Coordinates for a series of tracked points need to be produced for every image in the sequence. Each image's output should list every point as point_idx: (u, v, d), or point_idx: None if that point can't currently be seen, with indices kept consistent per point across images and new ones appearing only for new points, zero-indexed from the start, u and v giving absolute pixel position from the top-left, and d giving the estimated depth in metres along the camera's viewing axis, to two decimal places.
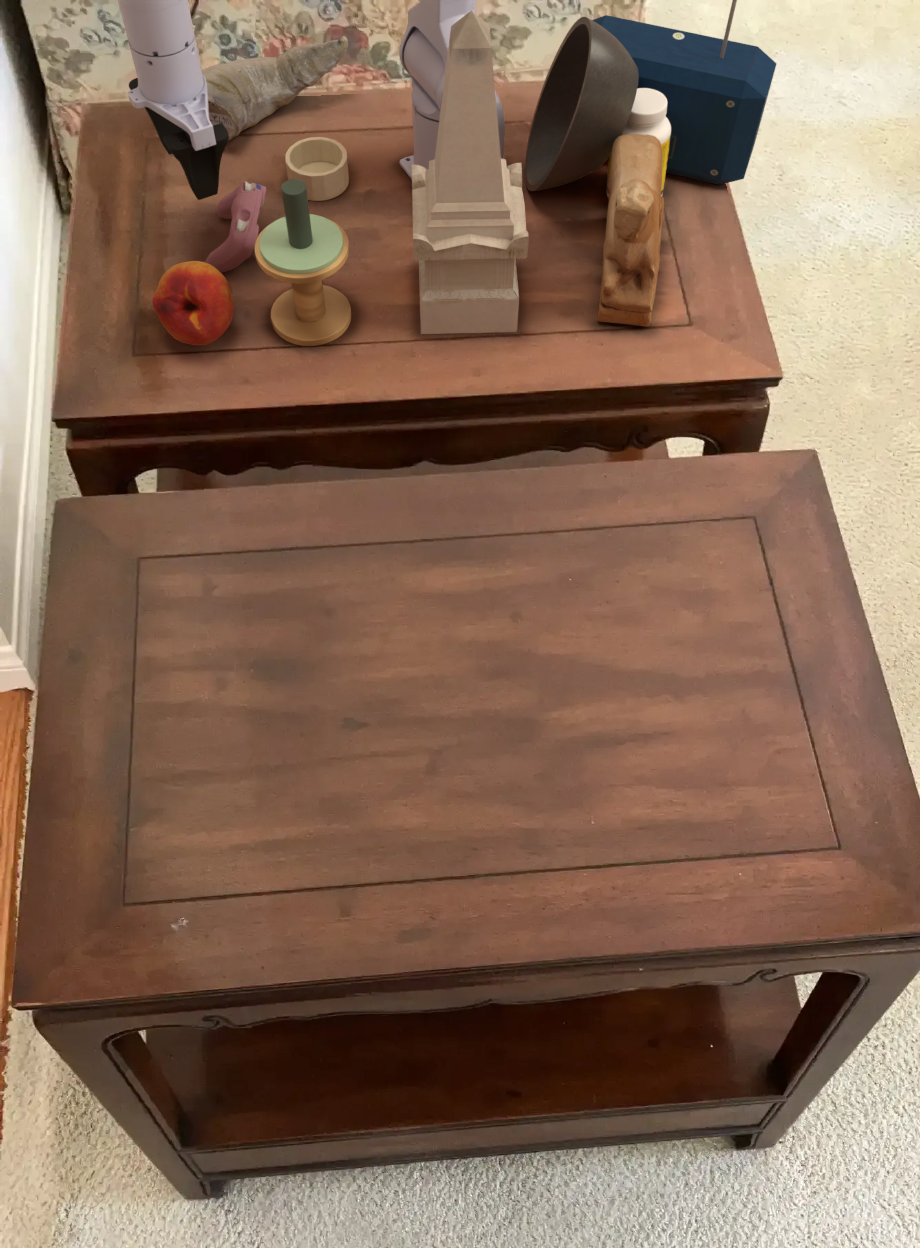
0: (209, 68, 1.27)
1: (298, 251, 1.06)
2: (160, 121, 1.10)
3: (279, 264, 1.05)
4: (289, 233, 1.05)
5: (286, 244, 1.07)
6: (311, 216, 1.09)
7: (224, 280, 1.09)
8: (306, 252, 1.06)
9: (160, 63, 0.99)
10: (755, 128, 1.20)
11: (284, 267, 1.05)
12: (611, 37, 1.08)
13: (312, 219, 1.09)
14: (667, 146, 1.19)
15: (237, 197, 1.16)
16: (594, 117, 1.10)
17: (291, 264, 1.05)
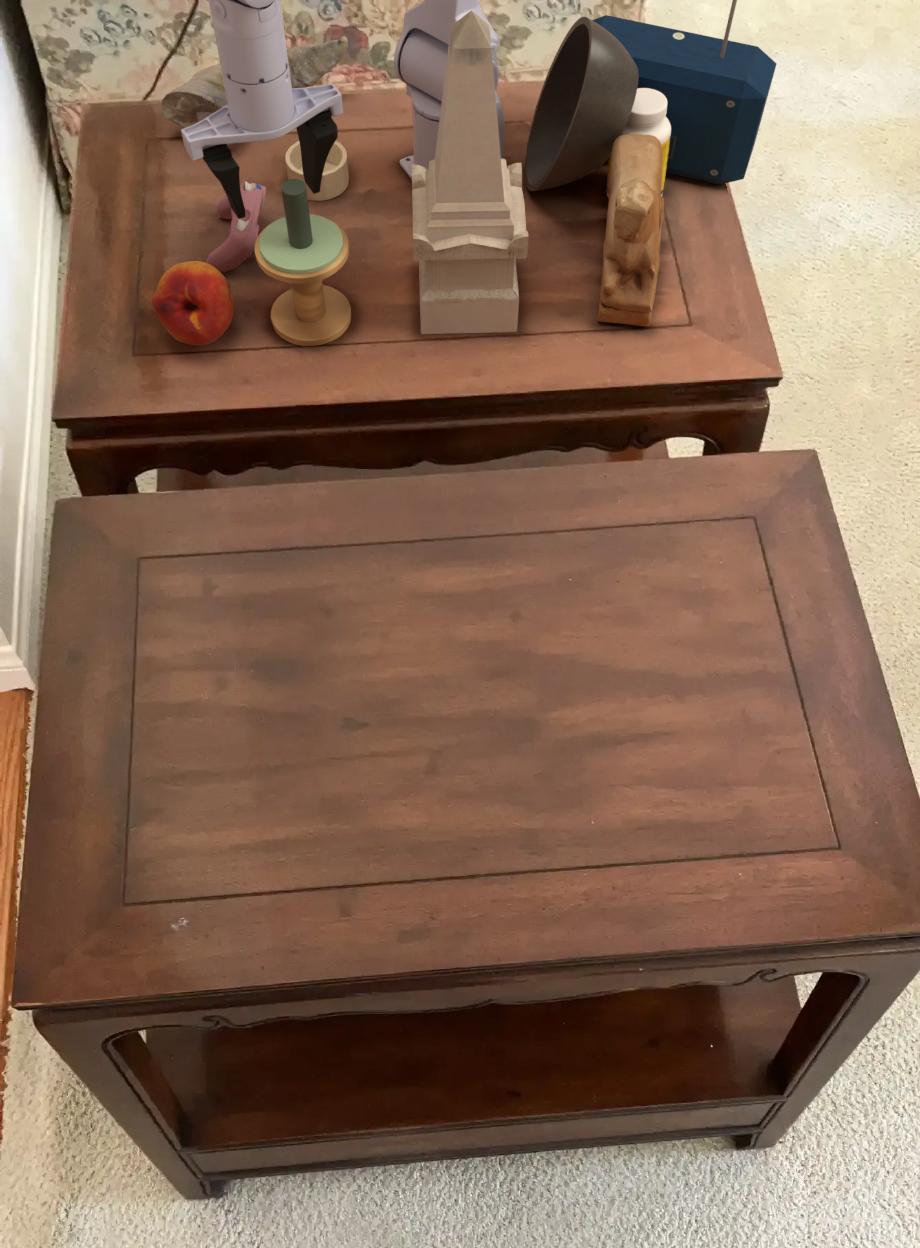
0: (209, 68, 1.27)
1: (298, 251, 1.06)
2: (302, 148, 1.07)
3: (279, 264, 1.05)
4: (289, 233, 1.05)
5: (286, 244, 1.07)
6: (311, 216, 1.09)
7: (224, 280, 1.09)
8: (306, 252, 1.06)
9: None
10: (755, 128, 1.20)
11: (284, 267, 1.05)
12: (611, 37, 1.08)
13: (312, 219, 1.09)
14: (667, 146, 1.19)
15: None
16: (594, 117, 1.10)
17: (291, 264, 1.05)
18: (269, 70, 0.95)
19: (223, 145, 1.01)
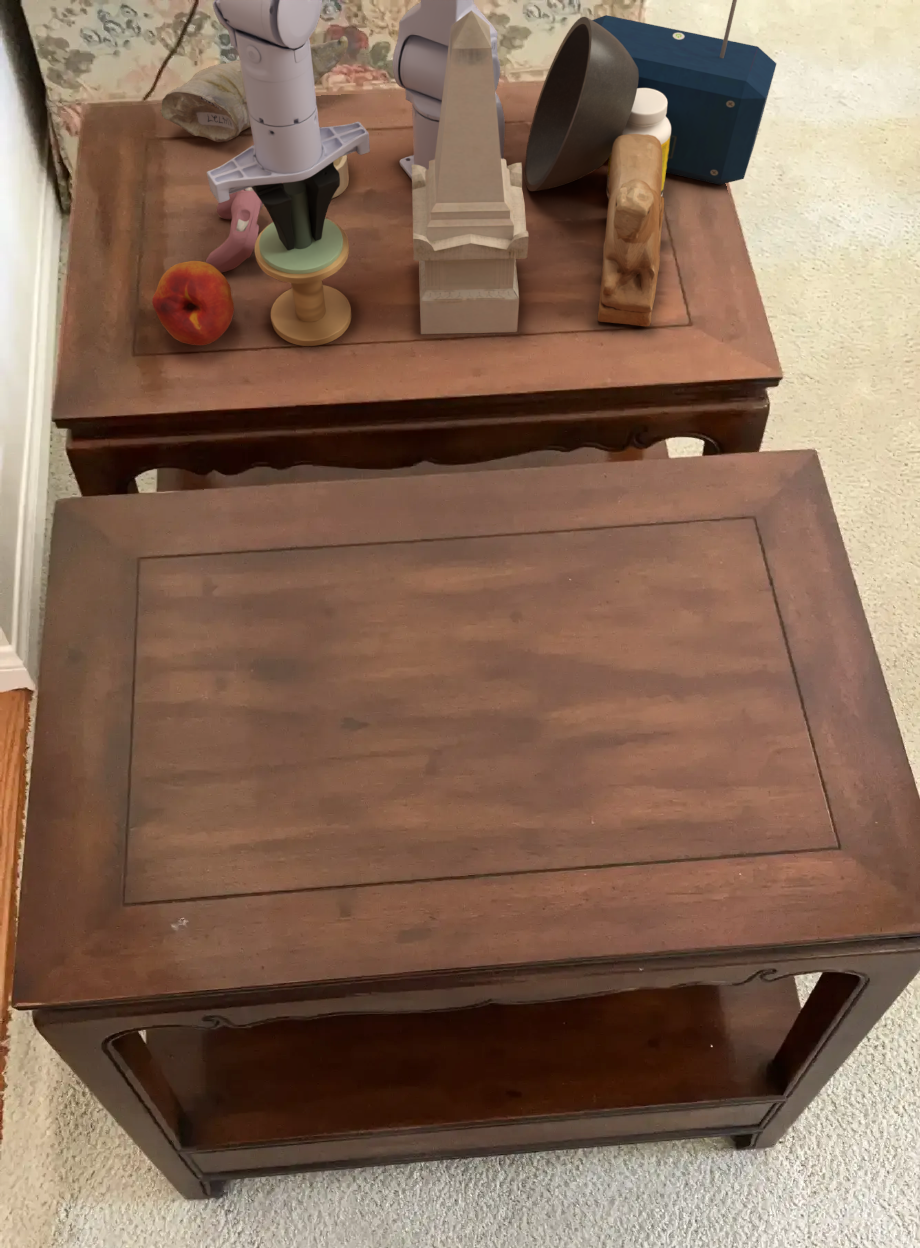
0: (209, 68, 1.27)
1: (298, 251, 1.06)
2: None
3: (279, 264, 1.05)
4: None
5: None
6: None
7: (224, 280, 1.09)
8: (306, 252, 1.06)
9: None
10: (755, 128, 1.20)
11: (284, 267, 1.05)
12: (611, 37, 1.08)
13: None
14: (667, 146, 1.19)
15: (237, 197, 1.16)
16: (594, 117, 1.10)
17: (291, 264, 1.05)
18: (303, 109, 0.93)
19: None
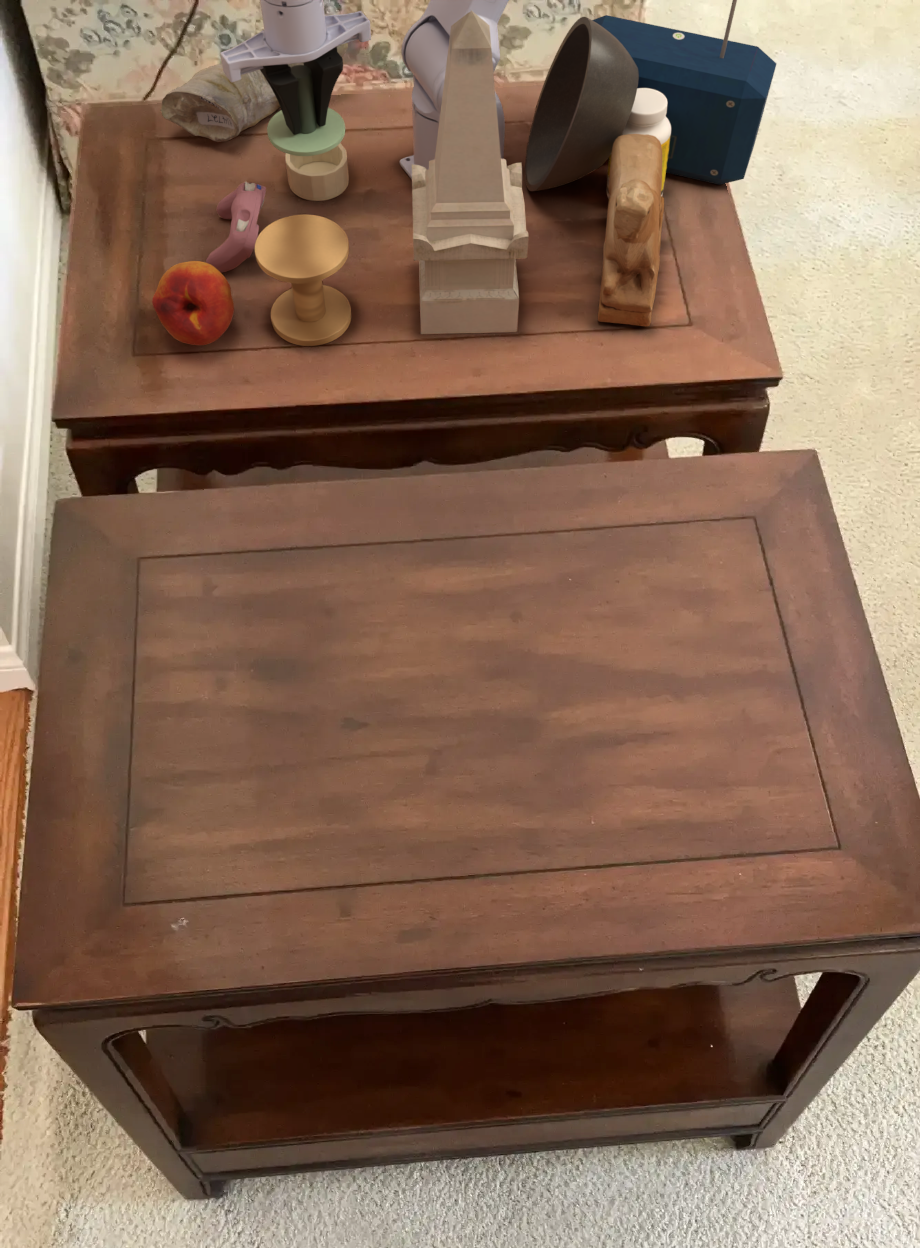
0: (209, 68, 1.27)
1: (303, 136, 1.14)
2: None
3: (285, 147, 1.13)
4: None
5: None
6: None
7: (224, 280, 1.09)
8: (311, 137, 1.14)
9: None
10: (755, 128, 1.20)
11: (290, 149, 1.13)
12: (611, 37, 1.08)
13: None
14: (667, 146, 1.19)
15: (237, 197, 1.16)
16: (594, 117, 1.10)
17: (297, 147, 1.13)
18: None
19: None
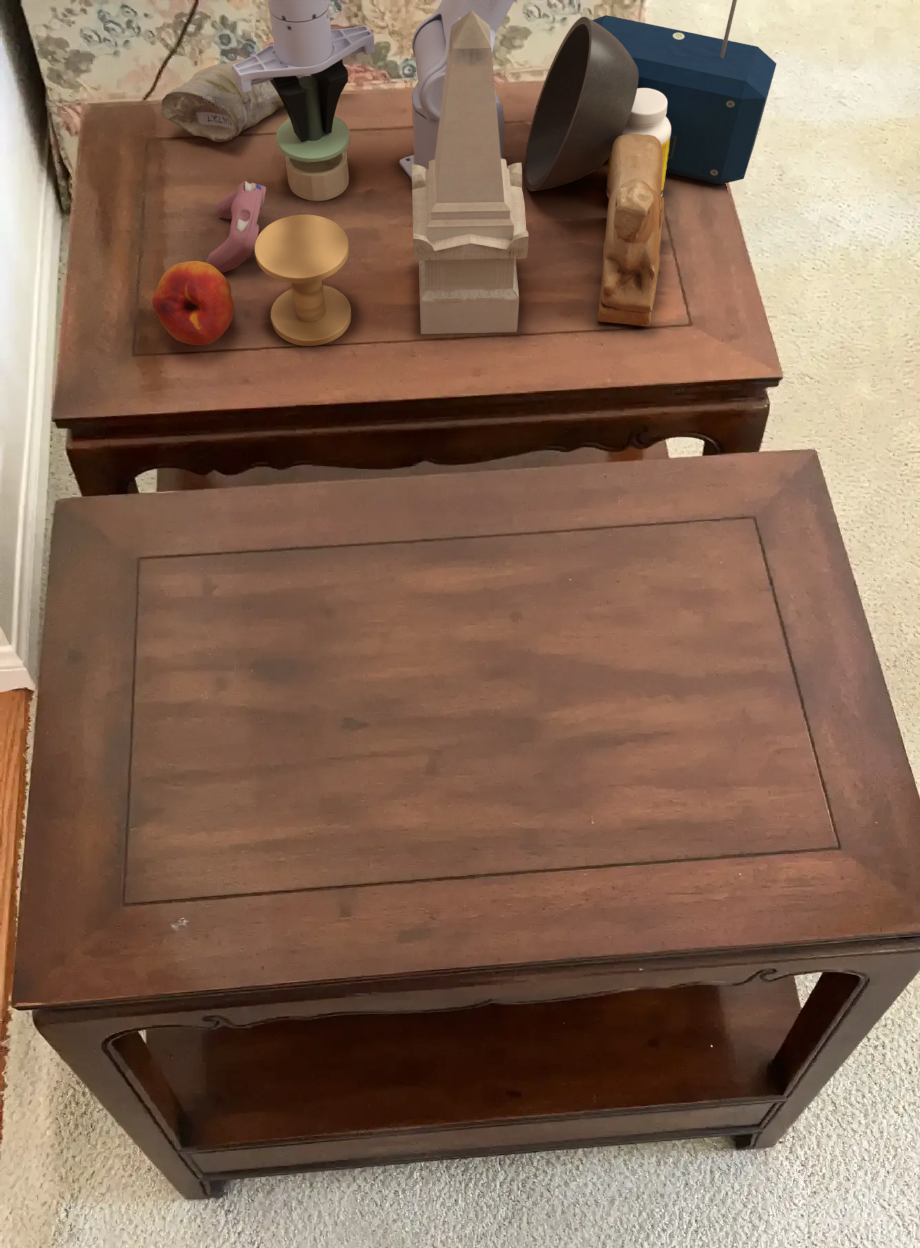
0: (209, 68, 1.27)
1: (310, 143, 1.21)
2: None
3: (293, 153, 1.20)
4: None
5: None
6: None
7: (224, 280, 1.09)
8: (317, 143, 1.20)
9: (269, 12, 1.10)
10: (755, 128, 1.20)
11: (298, 156, 1.19)
12: (611, 37, 1.08)
13: None
14: (667, 146, 1.19)
15: (237, 197, 1.16)
16: (594, 117, 1.10)
17: (304, 153, 1.20)
18: (290, 12, 1.07)
19: None
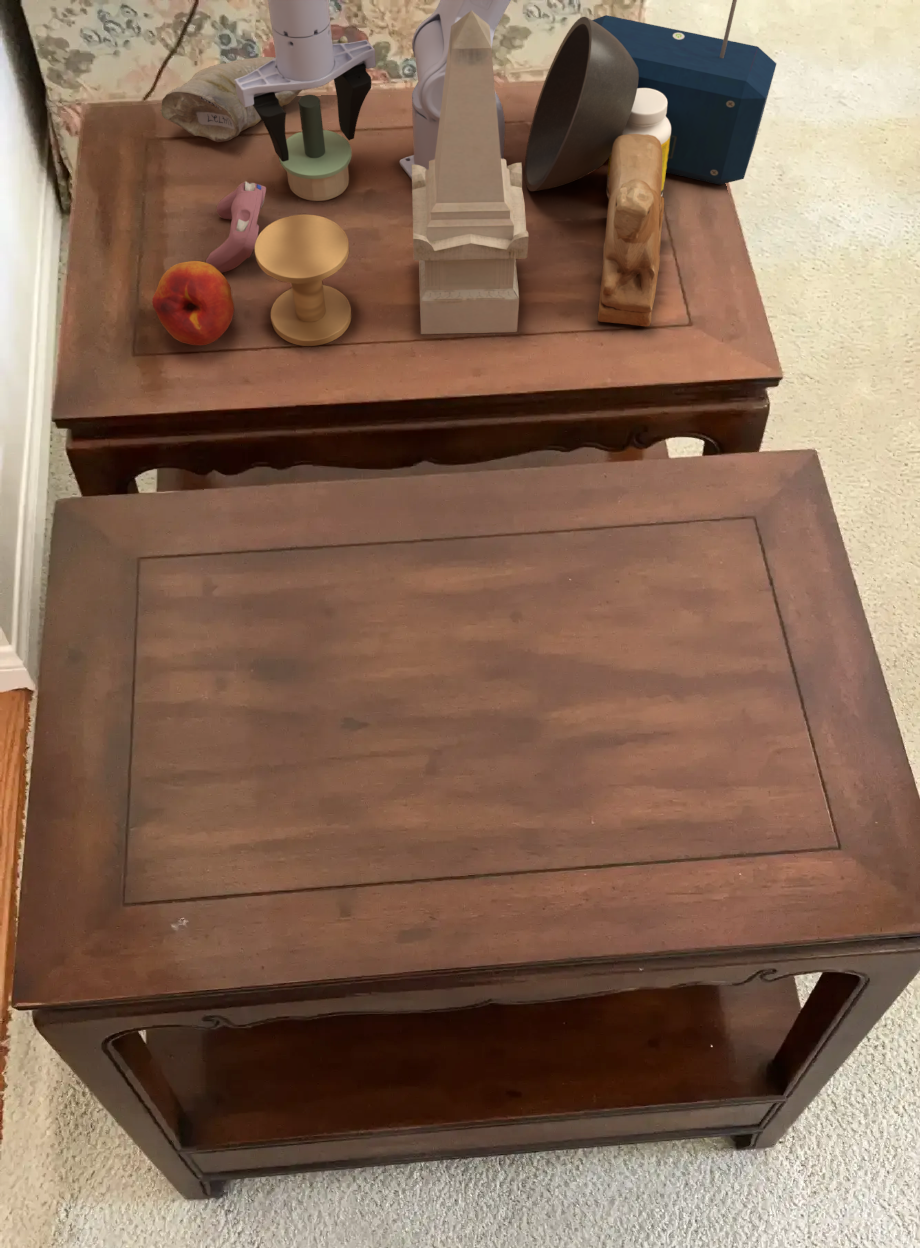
0: (209, 68, 1.27)
1: (312, 160, 1.22)
2: (339, 99, 1.21)
3: (296, 170, 1.21)
4: (305, 143, 1.21)
5: (302, 154, 1.23)
6: (324, 131, 1.25)
7: (224, 280, 1.09)
8: (319, 161, 1.22)
9: None
10: (755, 128, 1.20)
11: (300, 173, 1.21)
12: (611, 37, 1.08)
13: (324, 133, 1.25)
14: (667, 146, 1.19)
15: (237, 197, 1.16)
16: (594, 117, 1.10)
17: (306, 170, 1.21)
18: (292, 28, 1.08)
19: (271, 93, 1.14)
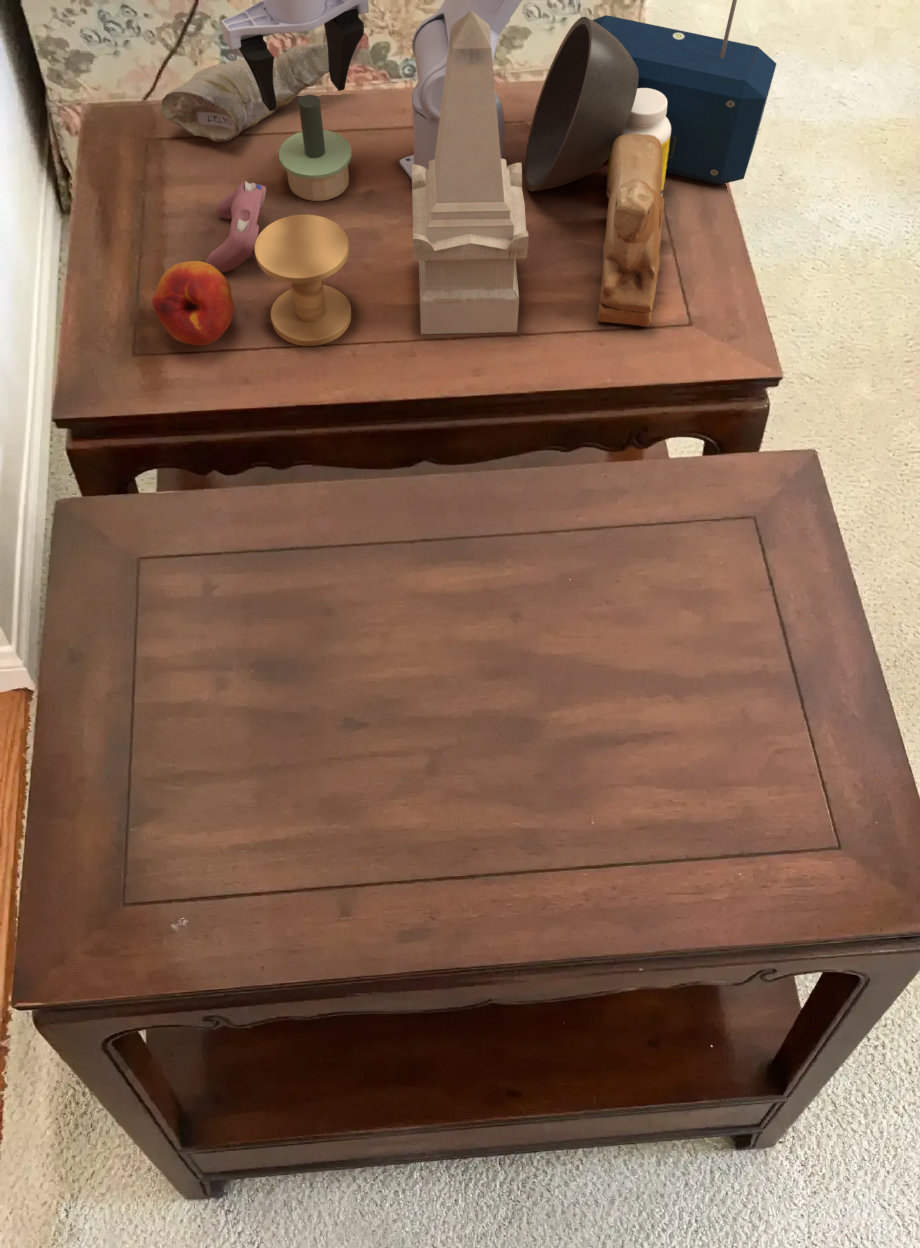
0: (209, 68, 1.27)
1: (312, 160, 1.22)
2: (330, 47, 1.16)
3: (296, 170, 1.21)
4: (305, 143, 1.21)
5: (302, 154, 1.23)
6: (324, 131, 1.25)
7: (224, 280, 1.09)
8: (319, 161, 1.22)
9: None
10: (755, 128, 1.20)
11: (300, 173, 1.21)
12: (611, 37, 1.08)
13: (324, 133, 1.25)
14: (667, 146, 1.19)
15: (237, 197, 1.16)
16: (594, 117, 1.10)
17: (306, 170, 1.21)
18: None
19: (259, 36, 1.09)
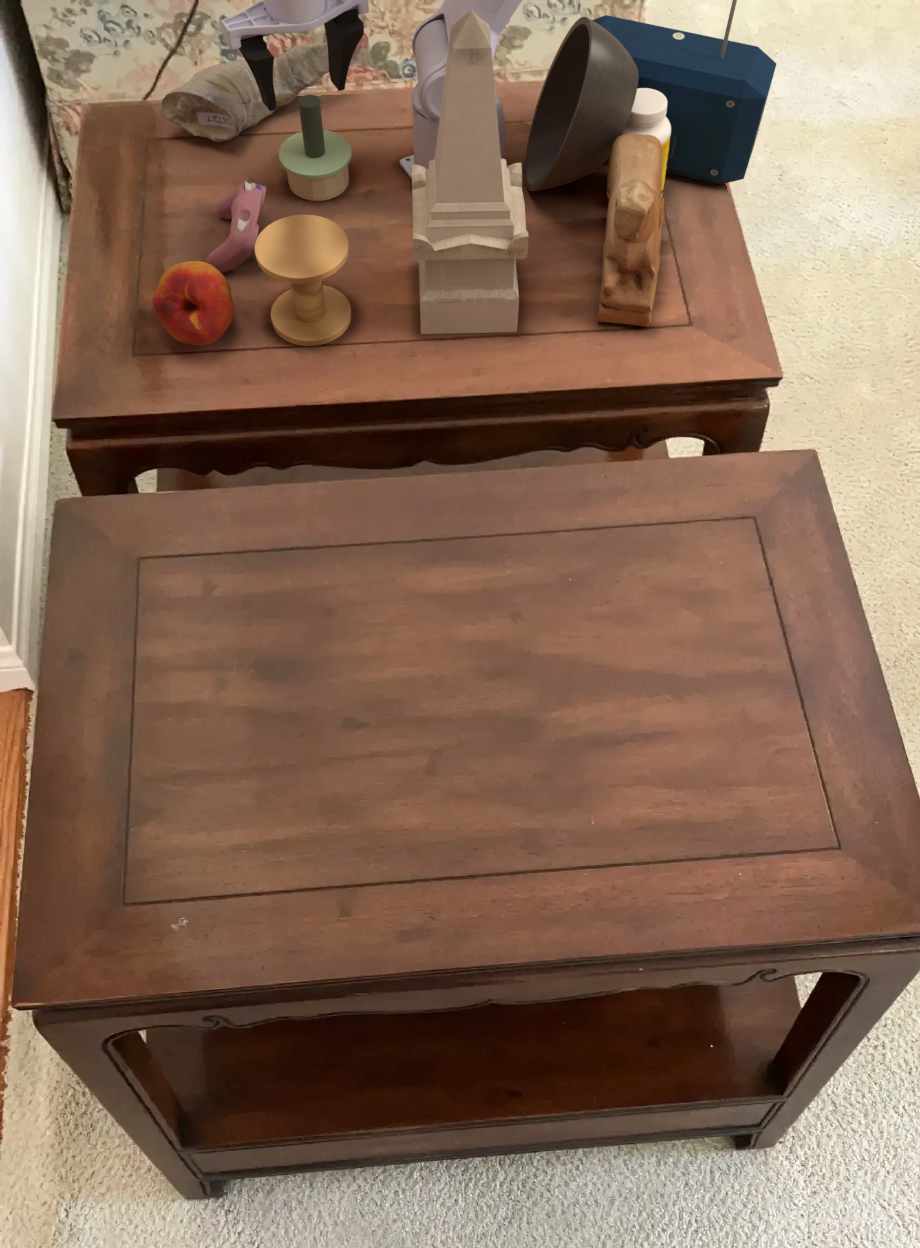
0: (209, 68, 1.27)
1: (312, 160, 1.22)
2: (330, 47, 1.16)
3: (296, 170, 1.21)
4: (305, 143, 1.21)
5: (302, 154, 1.23)
6: (324, 131, 1.25)
7: (224, 280, 1.09)
8: (319, 161, 1.22)
9: None
10: (755, 128, 1.20)
11: (300, 173, 1.21)
12: (611, 37, 1.08)
13: (324, 133, 1.25)
14: (667, 146, 1.19)
15: (237, 197, 1.16)
16: (594, 117, 1.10)
17: (306, 170, 1.21)
18: None
19: (259, 36, 1.09)
